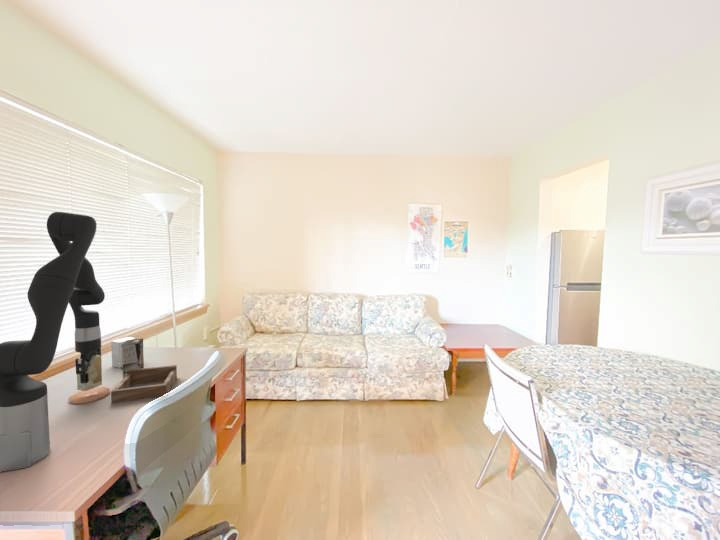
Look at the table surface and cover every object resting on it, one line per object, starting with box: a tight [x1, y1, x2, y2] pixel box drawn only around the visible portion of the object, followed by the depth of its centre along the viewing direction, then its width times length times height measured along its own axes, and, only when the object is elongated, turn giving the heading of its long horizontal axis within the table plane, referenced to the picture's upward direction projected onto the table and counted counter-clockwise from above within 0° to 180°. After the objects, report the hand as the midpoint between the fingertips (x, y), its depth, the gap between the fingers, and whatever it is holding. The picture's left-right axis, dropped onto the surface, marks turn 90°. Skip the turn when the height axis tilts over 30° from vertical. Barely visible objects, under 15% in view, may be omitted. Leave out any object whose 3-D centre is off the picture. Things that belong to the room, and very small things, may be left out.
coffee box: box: [122, 338, 145, 380], centre depth 137 cm, size 9×6×16 cm
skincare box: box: [76, 354, 103, 391], centre depth 117 cm, size 6×4×12 cm
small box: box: [110, 336, 137, 369], centre depth 150 cm, size 8×6×13 cm
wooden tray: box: [110, 364, 178, 404], centre depth 124 cm, size 18×18×6 cm
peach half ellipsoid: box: [68, 386, 111, 405], centre depth 117 cm, size 12×12×1 cm
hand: (89, 378), depth 117 cm, fingers closed on skincare box, 7 cm apart
